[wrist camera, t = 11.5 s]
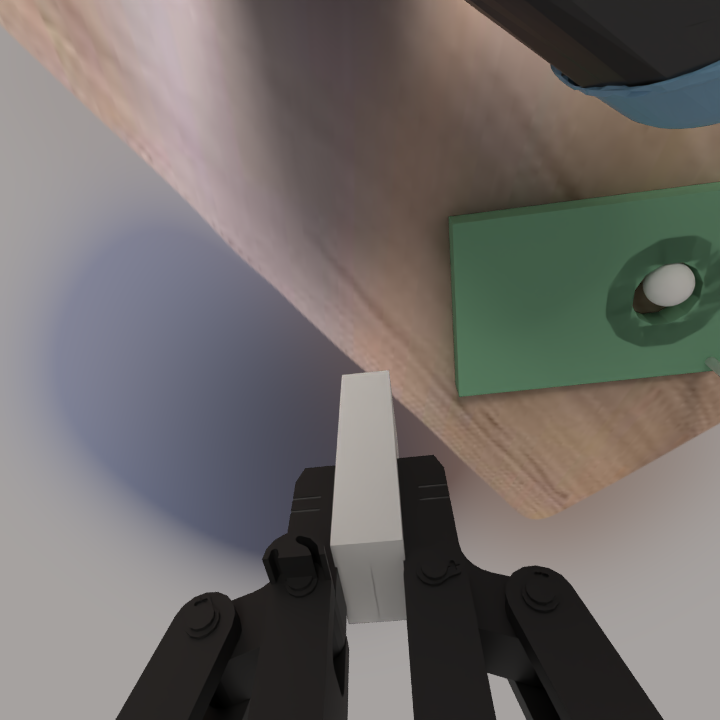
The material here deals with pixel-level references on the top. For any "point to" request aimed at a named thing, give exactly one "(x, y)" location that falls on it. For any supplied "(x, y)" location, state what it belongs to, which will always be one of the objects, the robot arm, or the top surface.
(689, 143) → the top surface
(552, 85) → the top surface
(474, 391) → the green
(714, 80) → the robot arm
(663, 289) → the ball
